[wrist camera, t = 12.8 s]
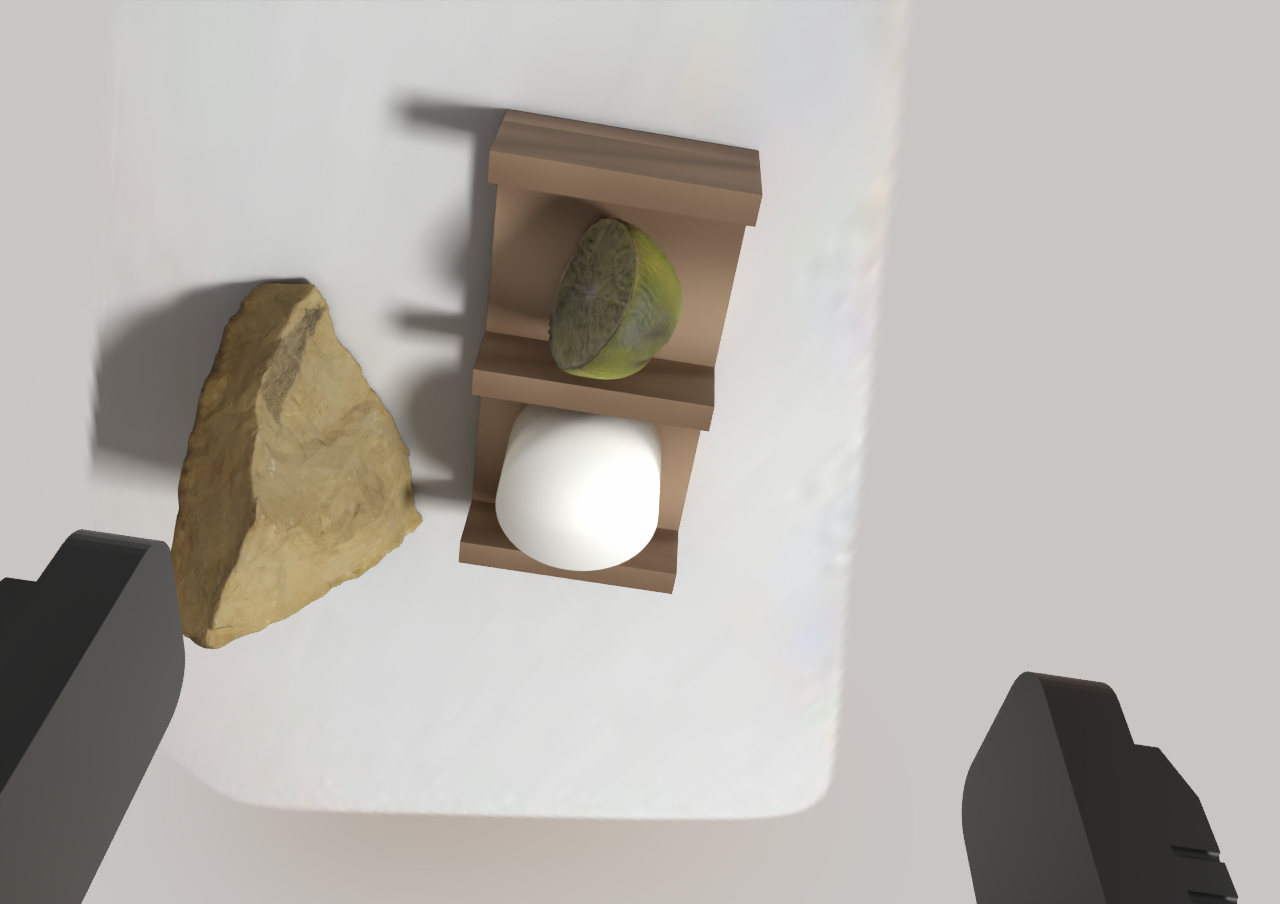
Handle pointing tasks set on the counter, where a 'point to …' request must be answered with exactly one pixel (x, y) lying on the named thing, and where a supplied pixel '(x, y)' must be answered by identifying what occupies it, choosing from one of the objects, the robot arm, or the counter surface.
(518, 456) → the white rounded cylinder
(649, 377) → the rack
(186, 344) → the counter surface
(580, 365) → the lime
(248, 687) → the counter surface
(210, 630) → the rock
